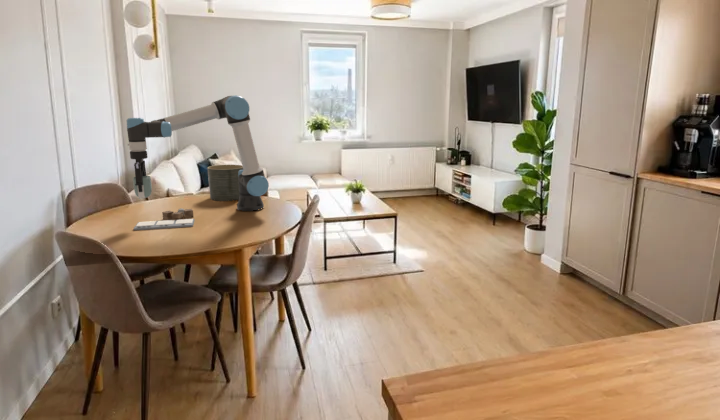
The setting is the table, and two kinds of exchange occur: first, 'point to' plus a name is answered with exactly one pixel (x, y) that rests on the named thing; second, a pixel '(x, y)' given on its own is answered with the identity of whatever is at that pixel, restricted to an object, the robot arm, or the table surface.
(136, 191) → the cup
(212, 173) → the planter
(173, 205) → the table surface
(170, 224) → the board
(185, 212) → the walnut block
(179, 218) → the walnut block
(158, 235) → the table surface
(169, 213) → the walnut block
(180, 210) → the grey ball
